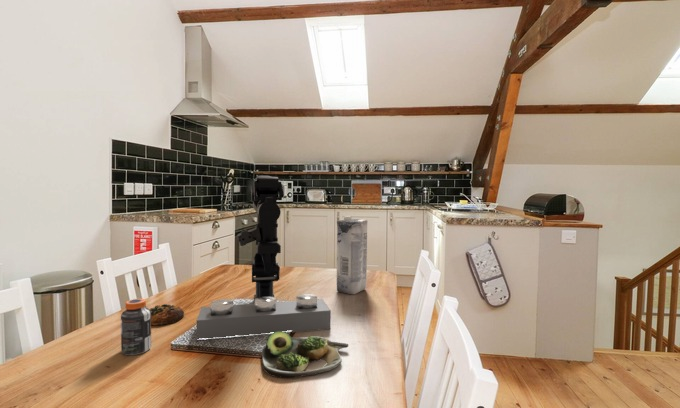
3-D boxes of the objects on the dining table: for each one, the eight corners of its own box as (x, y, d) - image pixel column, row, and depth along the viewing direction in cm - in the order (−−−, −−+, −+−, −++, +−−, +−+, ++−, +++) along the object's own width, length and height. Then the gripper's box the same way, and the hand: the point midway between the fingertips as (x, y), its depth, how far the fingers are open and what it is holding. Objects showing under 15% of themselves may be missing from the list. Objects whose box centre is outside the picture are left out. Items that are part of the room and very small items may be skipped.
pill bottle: (157, 347, 83) (156, 298, 83) (132, 358, 78) (132, 306, 77) (139, 342, 86) (139, 295, 85) (115, 352, 81) (114, 302, 80)
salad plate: (340, 338, 91) (340, 319, 91) (360, 373, 73) (360, 351, 73) (261, 344, 86) (261, 325, 86) (262, 384, 69) (262, 360, 69)
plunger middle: (254, 322, 98) (254, 297, 98) (275, 320, 99) (275, 295, 99) (255, 330, 93) (255, 303, 92) (277, 328, 94) (277, 302, 94)
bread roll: (187, 321, 99) (184, 303, 99) (141, 334, 94) (138, 316, 94) (182, 311, 109) (179, 294, 109) (140, 322, 104) (137, 305, 103)
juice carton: (369, 289, 133) (370, 216, 132) (354, 296, 124) (355, 217, 123) (348, 285, 138) (349, 214, 137) (333, 292, 129) (334, 216, 128)
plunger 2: (295, 319, 101) (295, 294, 100) (314, 317, 102) (315, 293, 102) (297, 326, 95) (298, 300, 95) (318, 324, 97) (319, 299, 97)
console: (201, 325, 97) (201, 307, 96) (322, 315, 105) (322, 298, 105) (196, 341, 87) (196, 320, 87) (330, 329, 95) (330, 310, 95)
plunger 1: (211, 325, 95) (211, 299, 95) (233, 324, 97) (233, 298, 96) (209, 334, 90) (209, 306, 90) (232, 332, 91) (232, 305, 91)
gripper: (239, 217, 113) (239, 267, 113) (237, 223, 95) (238, 282, 95) (275, 217, 115) (275, 265, 116) (280, 222, 97) (280, 280, 98)
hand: (267, 272), depth 106 cm, fingers closed
